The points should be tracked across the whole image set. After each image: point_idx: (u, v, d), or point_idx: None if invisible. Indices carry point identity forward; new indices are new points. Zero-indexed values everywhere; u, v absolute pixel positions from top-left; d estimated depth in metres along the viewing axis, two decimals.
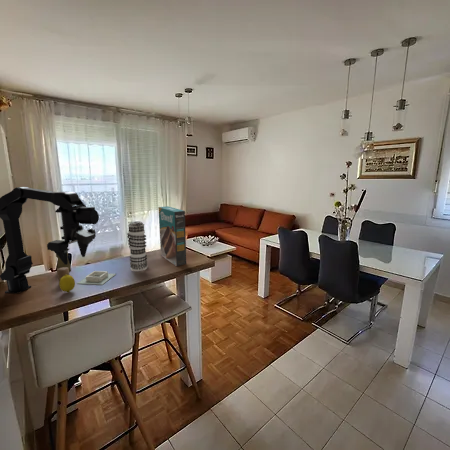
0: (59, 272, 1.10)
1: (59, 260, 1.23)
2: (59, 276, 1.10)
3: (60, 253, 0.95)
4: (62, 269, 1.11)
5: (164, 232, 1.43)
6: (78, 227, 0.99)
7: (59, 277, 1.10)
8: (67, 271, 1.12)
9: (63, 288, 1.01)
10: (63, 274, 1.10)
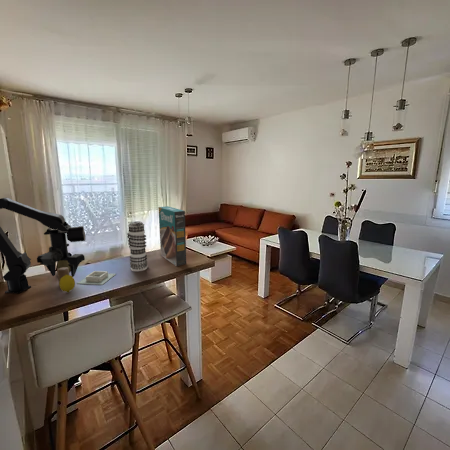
0: (59, 272, 1.10)
1: None
2: (59, 276, 1.10)
3: None
4: (62, 269, 1.11)
5: (164, 232, 1.43)
6: (55, 248, 1.07)
7: (59, 277, 1.10)
8: (67, 271, 1.12)
9: (63, 288, 1.01)
10: (63, 274, 1.10)
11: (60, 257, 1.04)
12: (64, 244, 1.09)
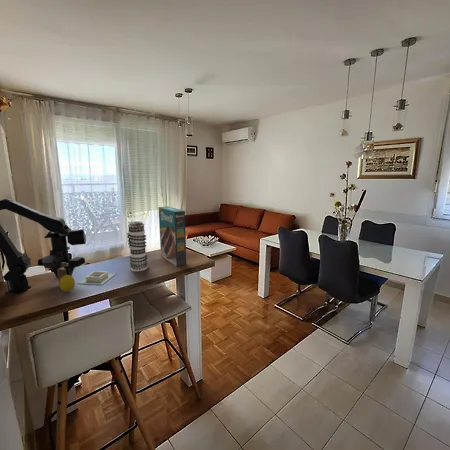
0: (59, 272, 1.10)
1: None
2: (59, 276, 1.10)
3: None
4: (62, 269, 1.11)
5: (164, 232, 1.43)
6: (56, 251, 1.07)
7: (59, 277, 1.10)
8: None
9: (63, 288, 1.01)
10: (63, 274, 1.10)
11: (61, 260, 1.05)
12: (65, 247, 1.09)
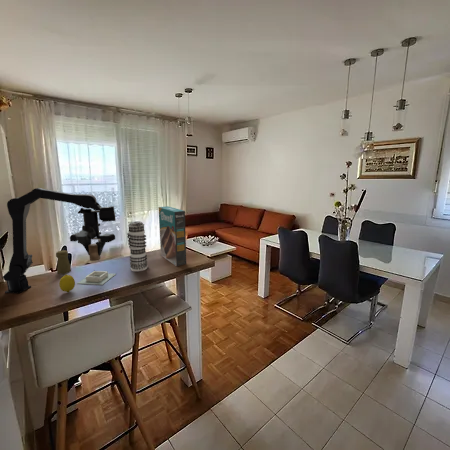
0: (91, 247, 1.12)
1: (59, 260, 1.23)
2: (90, 251, 1.13)
3: None
4: (93, 245, 1.14)
5: (164, 232, 1.43)
6: (88, 227, 1.10)
7: (90, 252, 1.13)
8: None
9: (63, 288, 1.01)
10: (94, 249, 1.13)
11: (94, 235, 1.08)
12: (96, 223, 1.12)
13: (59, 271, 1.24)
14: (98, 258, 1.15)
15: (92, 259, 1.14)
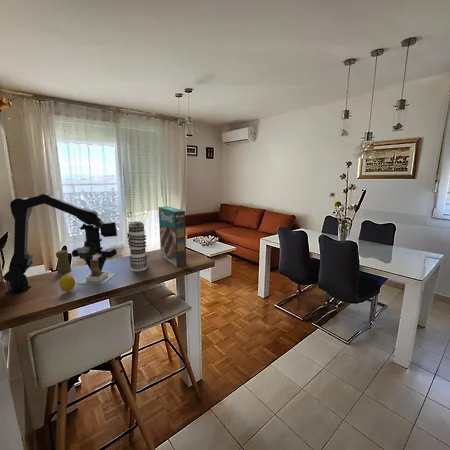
0: (92, 263, 1.14)
1: (59, 260, 1.23)
2: (92, 266, 1.14)
3: None
4: (95, 260, 1.15)
5: (164, 232, 1.43)
6: (90, 243, 1.11)
7: (92, 267, 1.15)
8: None
9: (63, 288, 1.01)
10: (96, 265, 1.15)
11: (95, 251, 1.09)
12: (98, 239, 1.13)
13: (59, 271, 1.24)
14: (99, 273, 1.16)
15: (94, 274, 1.15)
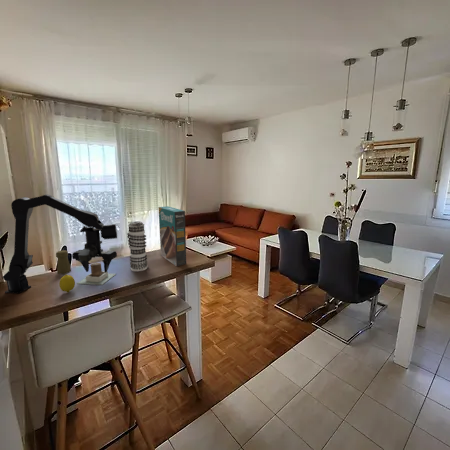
0: (93, 267, 1.14)
1: (59, 260, 1.23)
2: (93, 271, 1.15)
3: None
4: (95, 264, 1.16)
5: (164, 232, 1.43)
6: (90, 245, 1.11)
7: (93, 272, 1.15)
8: (100, 266, 1.16)
9: (63, 288, 1.01)
10: (96, 269, 1.15)
11: (96, 253, 1.09)
12: (98, 241, 1.13)
13: (59, 271, 1.24)
14: None
15: None
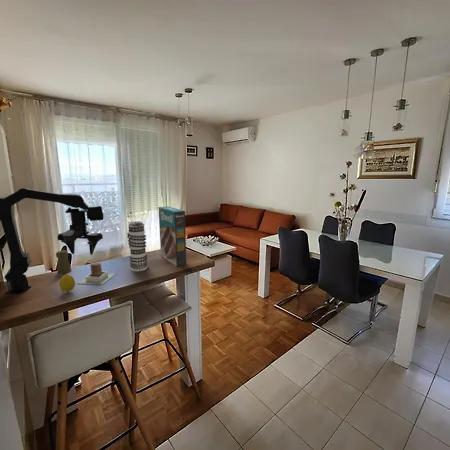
0: (93, 267, 1.14)
1: (59, 260, 1.23)
2: (93, 271, 1.15)
3: None
4: (95, 264, 1.16)
5: (164, 232, 1.43)
6: (76, 226, 1.11)
7: (93, 272, 1.15)
8: (100, 266, 1.16)
9: (63, 288, 1.01)
10: (96, 269, 1.15)
11: (80, 234, 1.09)
12: (84, 223, 1.13)
13: (59, 271, 1.24)
14: None
15: None
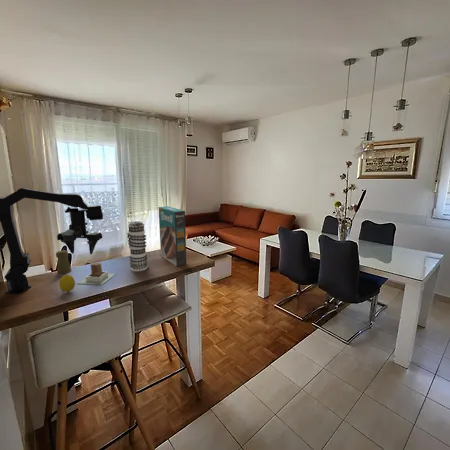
0: (93, 267, 1.14)
1: (59, 260, 1.23)
2: (93, 271, 1.15)
3: None
4: (95, 264, 1.16)
5: (164, 232, 1.43)
6: (75, 226, 1.11)
7: (93, 272, 1.15)
8: (100, 266, 1.16)
9: (63, 288, 1.01)
10: (97, 269, 1.15)
11: (80, 234, 1.09)
12: (83, 222, 1.13)
13: (59, 271, 1.24)
14: None
15: None
